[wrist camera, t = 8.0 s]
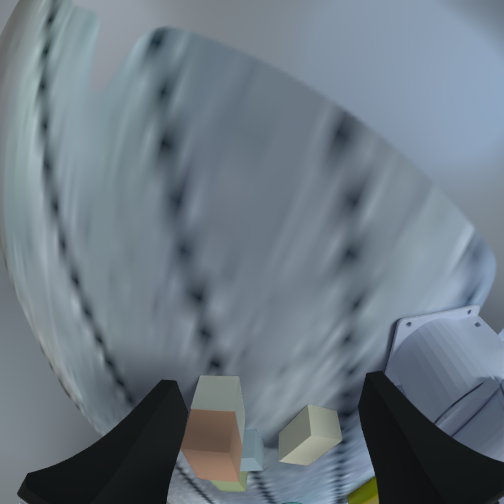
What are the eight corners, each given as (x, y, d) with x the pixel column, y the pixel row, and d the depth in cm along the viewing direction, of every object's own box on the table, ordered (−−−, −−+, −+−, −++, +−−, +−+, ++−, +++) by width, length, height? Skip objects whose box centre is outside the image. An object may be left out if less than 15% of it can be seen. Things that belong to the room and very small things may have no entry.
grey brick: (200, 375, 23) (190, 408, 19) (238, 376, 22) (234, 410, 19) (211, 414, 25) (205, 444, 21) (245, 415, 24) (242, 446, 21)
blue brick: (256, 427, 25) (254, 457, 21) (264, 442, 26) (262, 470, 23) (204, 431, 26) (198, 458, 22) (215, 445, 27) (211, 471, 23)
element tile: (343, 496, 35) (345, 515, 30) (385, 465, 30) (391, 488, 25) (400, 488, 35) (404, 504, 31) (444, 454, 30) (451, 472, 26)
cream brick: (307, 403, 23) (311, 435, 20) (336, 409, 24) (342, 440, 20) (278, 432, 25) (278, 461, 22) (305, 437, 26) (308, 465, 22)
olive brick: (209, 450, 28) (204, 475, 24) (236, 450, 27) (233, 476, 24) (223, 468, 30) (220, 490, 26) (248, 468, 29) (245, 491, 25)
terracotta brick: (242, 446, 21) (238, 482, 17) (205, 444, 21) (198, 478, 17) (235, 411, 19) (229, 452, 15) (191, 408, 19) (180, 448, 15)
